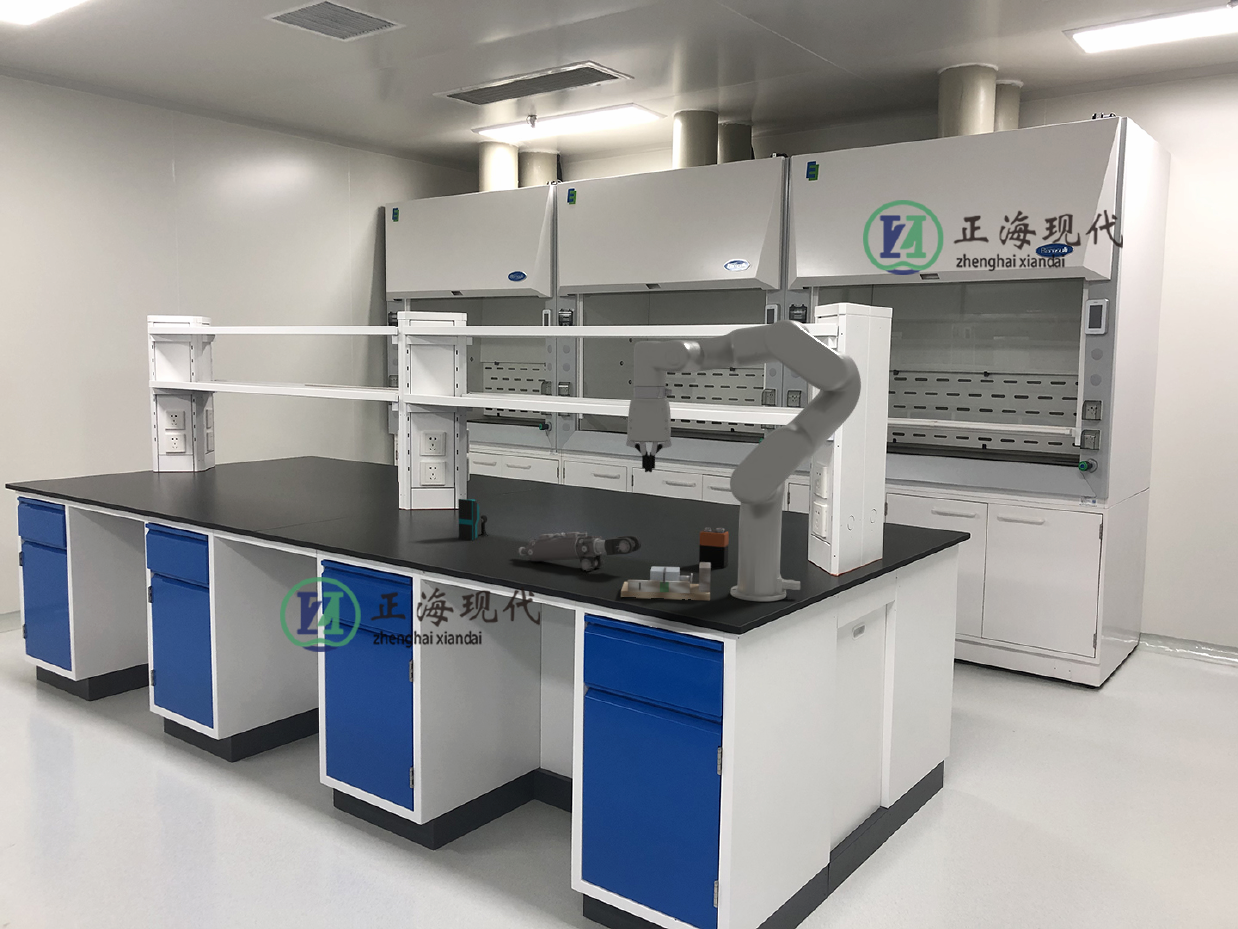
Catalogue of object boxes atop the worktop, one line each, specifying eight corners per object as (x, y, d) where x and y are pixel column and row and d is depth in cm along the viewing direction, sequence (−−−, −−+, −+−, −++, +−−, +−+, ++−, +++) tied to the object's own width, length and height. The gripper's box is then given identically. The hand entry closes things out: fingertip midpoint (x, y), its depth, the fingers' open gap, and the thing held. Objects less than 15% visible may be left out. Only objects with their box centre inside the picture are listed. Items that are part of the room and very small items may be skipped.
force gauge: (692, 584, 216) (692, 565, 216) (691, 592, 208) (692, 573, 208) (651, 583, 217) (651, 564, 216) (649, 591, 209) (649, 572, 209)
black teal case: (493, 496, 282) (472, 500, 274) (493, 535, 284) (472, 541, 275) (478, 494, 285) (457, 498, 276) (478, 533, 286) (457, 539, 278)
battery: (723, 568, 241) (724, 530, 240) (698, 566, 244) (699, 528, 243) (728, 565, 245) (729, 527, 244) (703, 563, 248) (704, 525, 247)
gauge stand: (709, 590, 218) (710, 561, 217) (709, 600, 209) (710, 569, 208) (624, 587, 220) (624, 558, 219) (620, 597, 211) (621, 567, 210)
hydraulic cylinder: (632, 570, 229) (627, 529, 228) (514, 575, 248) (509, 538, 248) (647, 564, 235) (642, 525, 235) (530, 570, 254) (526, 533, 254)
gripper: (681, 393, 222) (680, 470, 224) (619, 393, 224) (618, 469, 226) (680, 395, 215) (679, 474, 217) (616, 394, 216) (615, 472, 218)
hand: (648, 471), depth 221 cm, fingers closed
